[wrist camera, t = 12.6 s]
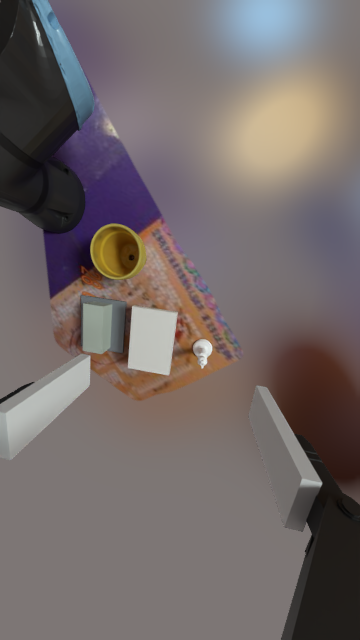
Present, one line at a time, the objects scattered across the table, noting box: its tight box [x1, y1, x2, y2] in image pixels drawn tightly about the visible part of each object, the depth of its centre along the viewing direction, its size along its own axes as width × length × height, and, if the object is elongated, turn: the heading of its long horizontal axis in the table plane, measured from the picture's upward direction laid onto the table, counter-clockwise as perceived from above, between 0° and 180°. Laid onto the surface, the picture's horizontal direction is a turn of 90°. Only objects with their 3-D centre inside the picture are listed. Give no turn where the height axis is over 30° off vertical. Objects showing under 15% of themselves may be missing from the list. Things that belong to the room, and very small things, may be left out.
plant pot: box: [90, 224, 146, 280], centre depth 40 cm, size 10×10×10 cm
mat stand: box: [81, 295, 127, 354], centre depth 47 cm, size 14×12×5 cm
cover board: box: [128, 305, 178, 375], centre depth 43 cm, size 15×10×2 cm, turn 172°
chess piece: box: [193, 339, 212, 368], centre depth 43 cm, size 5×5×10 cm
